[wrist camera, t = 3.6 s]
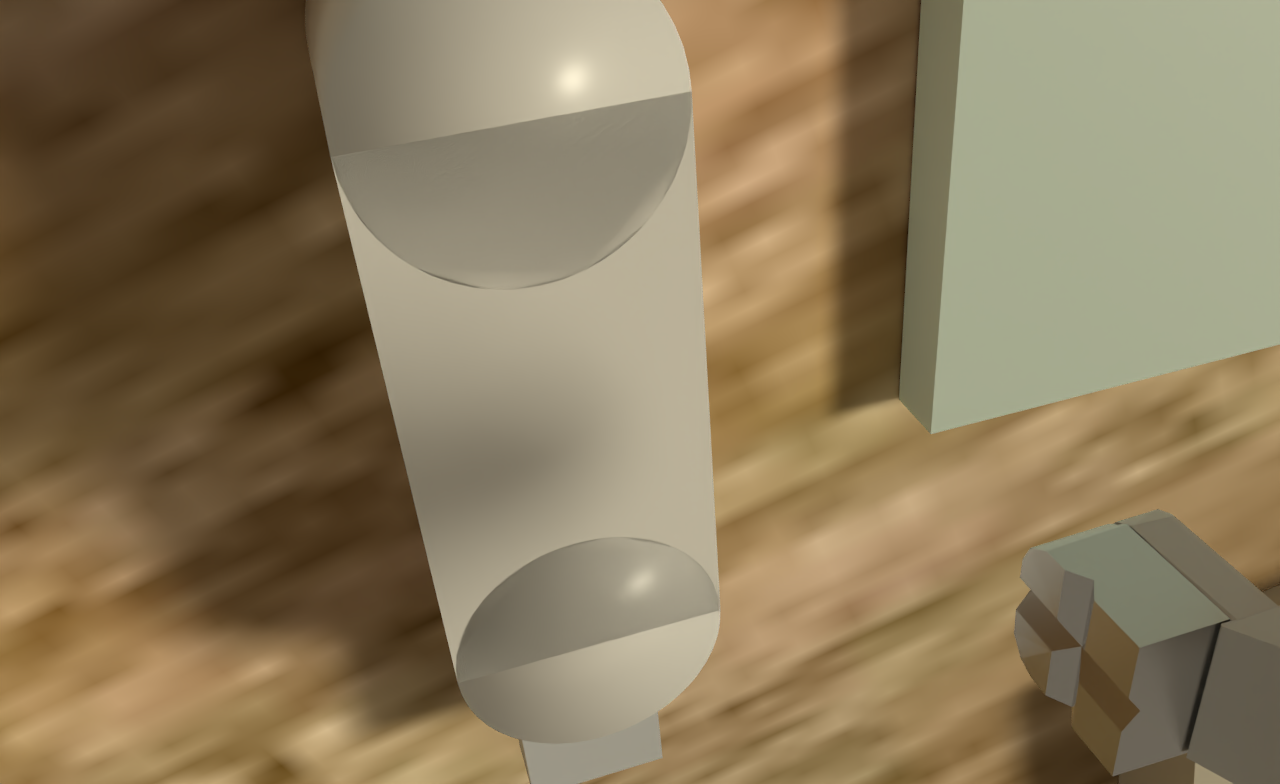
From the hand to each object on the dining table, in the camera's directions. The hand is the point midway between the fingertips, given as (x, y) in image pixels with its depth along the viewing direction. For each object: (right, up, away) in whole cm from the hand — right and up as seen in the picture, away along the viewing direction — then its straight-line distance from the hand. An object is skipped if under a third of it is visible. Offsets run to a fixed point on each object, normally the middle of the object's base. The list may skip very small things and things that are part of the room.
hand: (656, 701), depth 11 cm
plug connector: (-2, +4, +7) cm, 8 cm away
